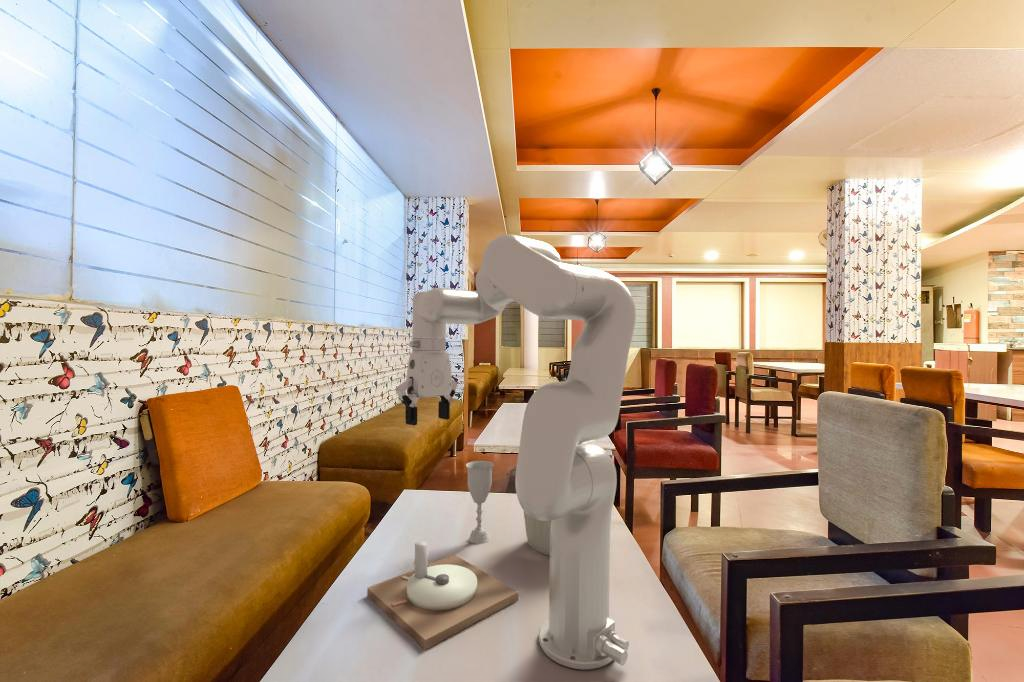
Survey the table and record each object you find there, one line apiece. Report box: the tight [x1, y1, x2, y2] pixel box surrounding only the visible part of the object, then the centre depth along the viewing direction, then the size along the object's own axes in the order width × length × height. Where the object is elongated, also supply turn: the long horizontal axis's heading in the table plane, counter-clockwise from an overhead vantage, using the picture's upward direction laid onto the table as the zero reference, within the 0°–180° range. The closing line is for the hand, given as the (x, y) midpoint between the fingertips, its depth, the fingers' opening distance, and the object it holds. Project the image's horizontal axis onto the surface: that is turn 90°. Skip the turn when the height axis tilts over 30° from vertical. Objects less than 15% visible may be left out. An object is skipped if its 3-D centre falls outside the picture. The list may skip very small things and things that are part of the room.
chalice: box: [465, 460, 495, 545], centre depth 110 cm, size 7×7×18 cm
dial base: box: [366, 553, 519, 650], centre depth 85 cm, size 20×20×2 cm
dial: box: [407, 540, 477, 610], centre depth 85 cm, size 13×13×8 cm
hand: (428, 421), depth 103 cm, fingers open, 9 cm apart
